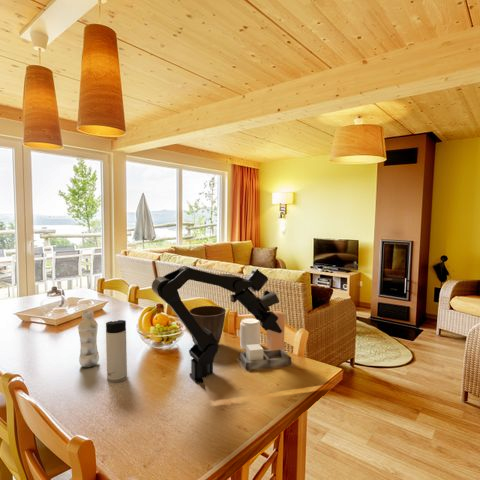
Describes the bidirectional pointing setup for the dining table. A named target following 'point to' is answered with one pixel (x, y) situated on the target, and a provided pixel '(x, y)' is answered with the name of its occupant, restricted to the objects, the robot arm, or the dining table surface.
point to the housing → (265, 360)
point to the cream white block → (254, 352)
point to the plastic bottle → (88, 340)
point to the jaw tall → (273, 338)
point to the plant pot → (210, 319)
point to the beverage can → (249, 332)
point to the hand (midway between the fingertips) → (278, 329)
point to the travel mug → (116, 351)
